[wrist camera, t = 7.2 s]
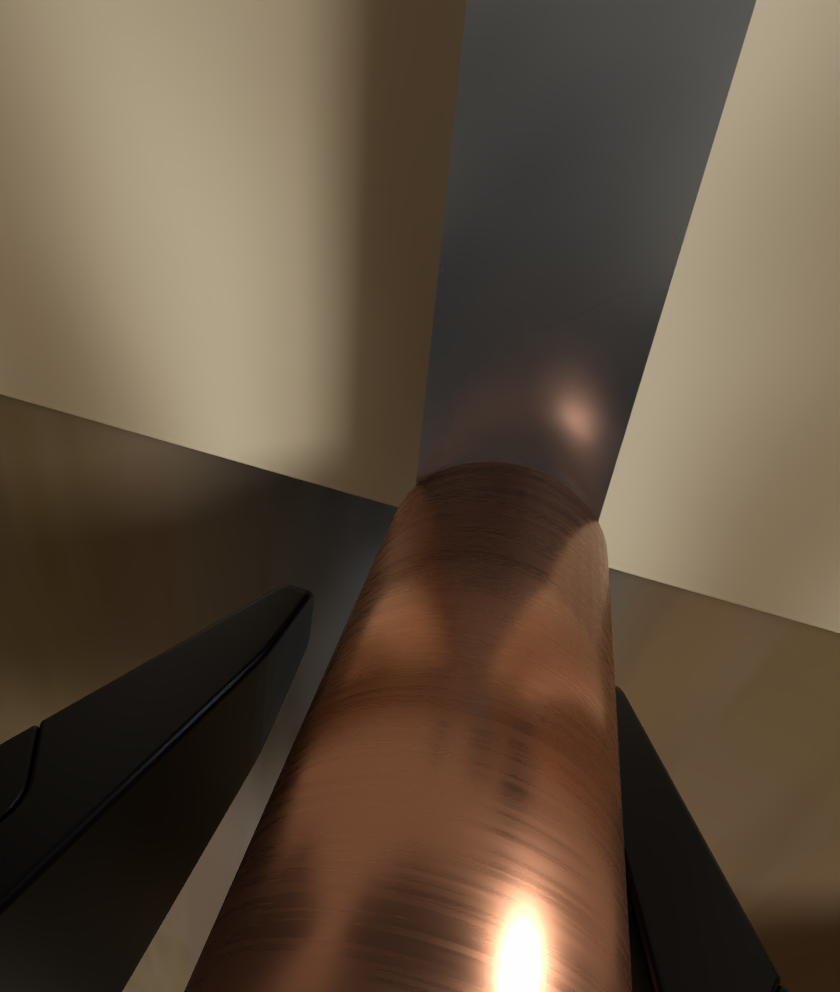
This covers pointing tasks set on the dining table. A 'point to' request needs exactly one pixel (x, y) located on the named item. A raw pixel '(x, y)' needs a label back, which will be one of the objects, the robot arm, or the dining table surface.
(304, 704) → the dining table surface
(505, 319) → the lever
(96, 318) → the base
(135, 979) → the dining table surface
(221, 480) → the dining table surface
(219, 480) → the dining table surface
